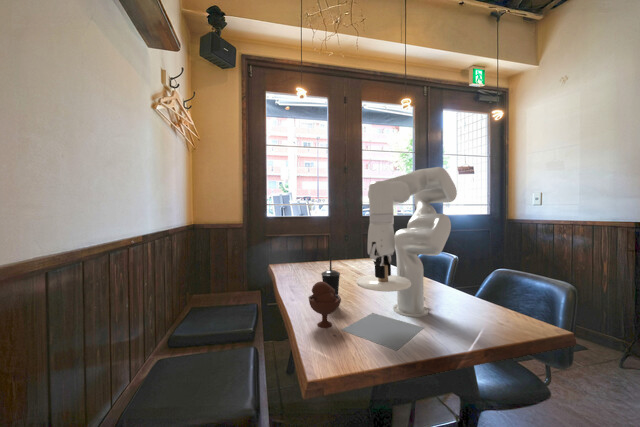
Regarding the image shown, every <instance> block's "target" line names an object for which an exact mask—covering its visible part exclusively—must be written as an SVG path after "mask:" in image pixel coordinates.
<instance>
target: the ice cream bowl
mask: <svg viewBox="0 0 640 427" xmlns="http://www.w3.org/2000/svg"><path fill="white" fill-rule="evenodd" d="M311 293H312V294H311V295H309V296H308V297H307V298H308V303H309V306H310V308H311V309H312V310H313V311H314V312H315V313H317V314H319V315H321V316H322V317H321V320H320V321H318V323H317V324H316V326H317V327H318V328H320V329H328V328H331V327H332V326H334V325H333V323H332V322H330V321H329V320H328V315H330V314H332V313H334V312H335V311H336V310H337V309H338V308H339V307H340V305H341V302H342V298H341V296H340V295H339V294H338V295H336V294H335V289H334V288H333V287H331V286H330V285H328V284H327V283H326V282H323V281H317V282H316V283H314V284H313V285H312V288H311Z"/></svg>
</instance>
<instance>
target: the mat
mask: <svg viewBox="0 0 640 427" xmlns="http://www.w3.org/2000/svg"><path fill="white" fill-rule="evenodd" d="M423 329H425V327H424V326H420V325H418V324H413V323H411V322H410V323H409V322H408V321H407V322H406V321H403V320H400V319H395V318H392V317H388V316H385V315H382V314H378V313H375V312H372V313H370V314H368V315H366V316H364V317H362V318H360V319H359V320H357V321H354V322H353V323H351V324H349V325H347V326H345V327H344V328H342V329H341V331H343V332H345V333H348V334H351V335H354V336H356V337H358V338H361V339H365V340H367V341H369V342H372V343H375V344H378V345H381V346H383V347H386V348H389V349H391V350H395V351H398V350H400V349H401V348H402V347H403V346H404V345H406V344H407V343H408V342H409V341H410V340H411V339H413V338H414V337H415V336H416V335H417V334H418V333H420V332H421V331H423Z"/></svg>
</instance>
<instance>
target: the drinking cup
mask: <svg viewBox="0 0 640 427" xmlns="http://www.w3.org/2000/svg"><path fill="white" fill-rule="evenodd" d="M320 274H321V280H322V282H326V283H327V284H328V285H330V286H331V287H333V288H334V289H335V294H336V295H339V287H340V286H339V285H340V276H341V272H339V271H337V270H334V269H333V268H332V257H329V269H327V270H325V271H322V272H321V273H320Z"/></svg>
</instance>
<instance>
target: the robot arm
mask: <svg viewBox="0 0 640 427" xmlns="http://www.w3.org/2000/svg"><path fill="white" fill-rule="evenodd" d="M457 191H458V190H457V187H456V184H455V183H454V180H452V177H451V175H450V174H449V173H448V171H447V170H446V169H445V168H444V167H441V166H436V167H429V168H421V169H416V170H415V171H411V172H408V173H406V174H402V175H399V176H395V177H392V178H389V179H388V178H387V179H385V180H384V179H383V180H376V181H375V180H374V181H371V182H370V183H369V185H368V191H367V197H368V206H369V209H368V210H369V225H368V231H367V232H368V233H367V254H368V255H369V259H370V260H371V261H372V262H373V266H374V274H375V277H377V278H382V279H384V278H385V266H383V264H385V265H388V276H391V275H392V267H391V266H392V264H391V263H392V258H393V257H392V256H393V255H394V253H395V255H396V276H401V277H404V278H407V279H409V280H410V281H411V287H410V288H408V289H405V290H401V291H396V301H397V302H396V304H394V305H393V307H392V310H393V312H394V313H396V314H397V315H400V316H404V317H409V318H424V317H426V316H428V315H429V309H428V308H427V307H425V305H424V304H425V301H426V297H425V295H424V292H425V291H424V289H425V288H424V265H423V262H422V260H421V258H420V257H419V255H421V256H423V255H424V256H431V257H432V256H438V255H440V254H441V252H443V249H444V247H445V245H446V242H447V241H448V238H449V236H450V233H451V229H452V226H451V225H452V223H451V219H450V217H449V216H448V215H447V214H445V213H437V211H436V209H435V208H434V206H432V205H431V204H439V203H441V204H443V203H452V202H454V201H455V200H456V198H457V195H458V192H457ZM412 196H414V197H413V198H414V205H415V211H414V212H413V214H412V216H411V217H410V218H409V220H408V223H407V225H406V226H407V227H406V228H400V229H399V230H397V231H396V232H395V231H394V230H395V228H394V224H395V221H394V218H395V217H394V215H395V214H394V205H400V204H404V203H406V202H407V201H409V200H410V197H412Z"/></svg>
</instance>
